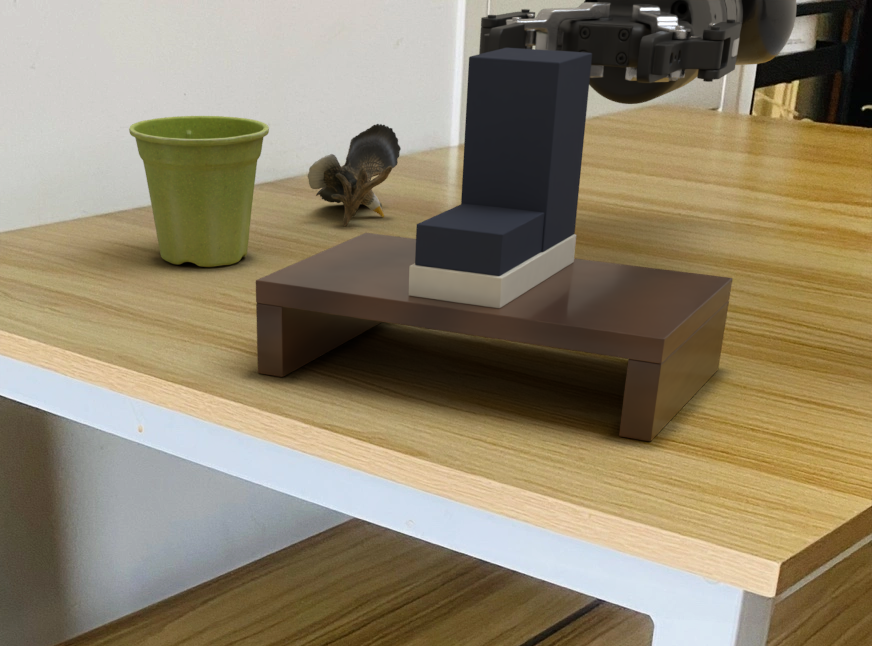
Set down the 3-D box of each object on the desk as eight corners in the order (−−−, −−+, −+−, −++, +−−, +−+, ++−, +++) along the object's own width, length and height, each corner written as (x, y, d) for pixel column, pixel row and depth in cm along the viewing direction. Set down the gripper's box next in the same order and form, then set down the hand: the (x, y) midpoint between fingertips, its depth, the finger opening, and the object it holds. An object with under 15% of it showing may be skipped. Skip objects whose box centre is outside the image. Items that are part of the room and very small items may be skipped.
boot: (490, 251, 78) (503, 47, 72) (574, 262, 76) (594, 52, 70) (408, 295, 70) (416, 68, 64) (499, 308, 68) (516, 75, 62)
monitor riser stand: (718, 369, 76) (732, 277, 73) (650, 442, 66) (664, 338, 63) (363, 316, 85) (365, 232, 82) (257, 373, 75) (255, 280, 72)
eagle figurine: (419, 212, 105) (421, 168, 112) (369, 131, 101) (374, 91, 108) (336, 263, 108) (343, 217, 115) (285, 186, 104) (295, 143, 111)
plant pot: (295, 263, 96) (294, 130, 91) (173, 280, 92) (166, 141, 87) (232, 237, 103) (228, 112, 98) (116, 252, 98) (106, 121, 94)
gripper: (551, -41, 87) (449, -28, 75) (778, -34, 81) (709, -18, 69) (540, 88, 91) (442, 120, 78) (757, 104, 85) (688, 141, 73)
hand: (567, 55), depth 74 cm, fingers open, 8 cm apart
